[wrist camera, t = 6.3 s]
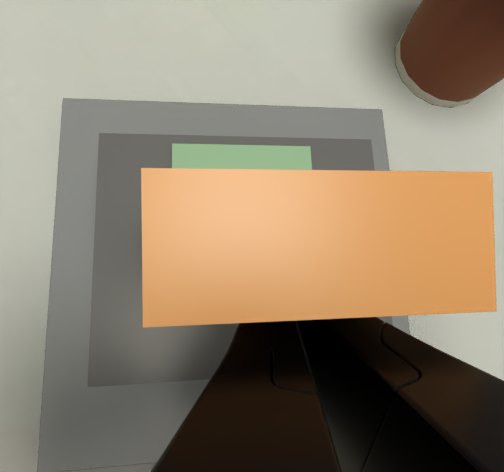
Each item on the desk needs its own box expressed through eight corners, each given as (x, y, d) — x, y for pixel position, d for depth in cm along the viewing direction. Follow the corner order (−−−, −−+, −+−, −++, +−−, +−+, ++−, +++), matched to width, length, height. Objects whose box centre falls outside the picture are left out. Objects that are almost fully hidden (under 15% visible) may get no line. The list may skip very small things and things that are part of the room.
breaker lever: (316, 271, 15) (496, 311, 6) (179, 274, 14) (142, 327, 5) (314, 216, 15) (492, 172, 6) (178, 217, 14) (141, 168, 5)
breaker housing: (412, 431, 20) (523, 490, 13) (46, 464, 17) (-56, 561, 10) (374, 118, 23) (445, 36, 17) (69, 108, 21) (6, 7, 14)
